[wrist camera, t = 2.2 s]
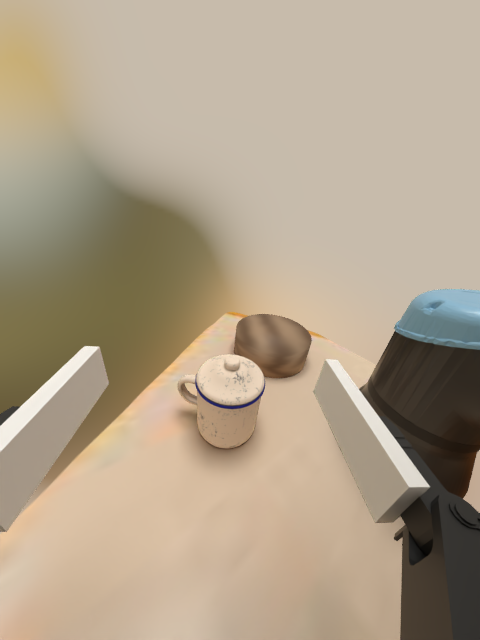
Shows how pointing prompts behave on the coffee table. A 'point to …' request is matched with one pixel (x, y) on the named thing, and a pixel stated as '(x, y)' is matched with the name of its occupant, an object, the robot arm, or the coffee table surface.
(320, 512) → the coffee table surface
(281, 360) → the walnut riser
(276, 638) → the coffee table surface
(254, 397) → the teacup with lid
